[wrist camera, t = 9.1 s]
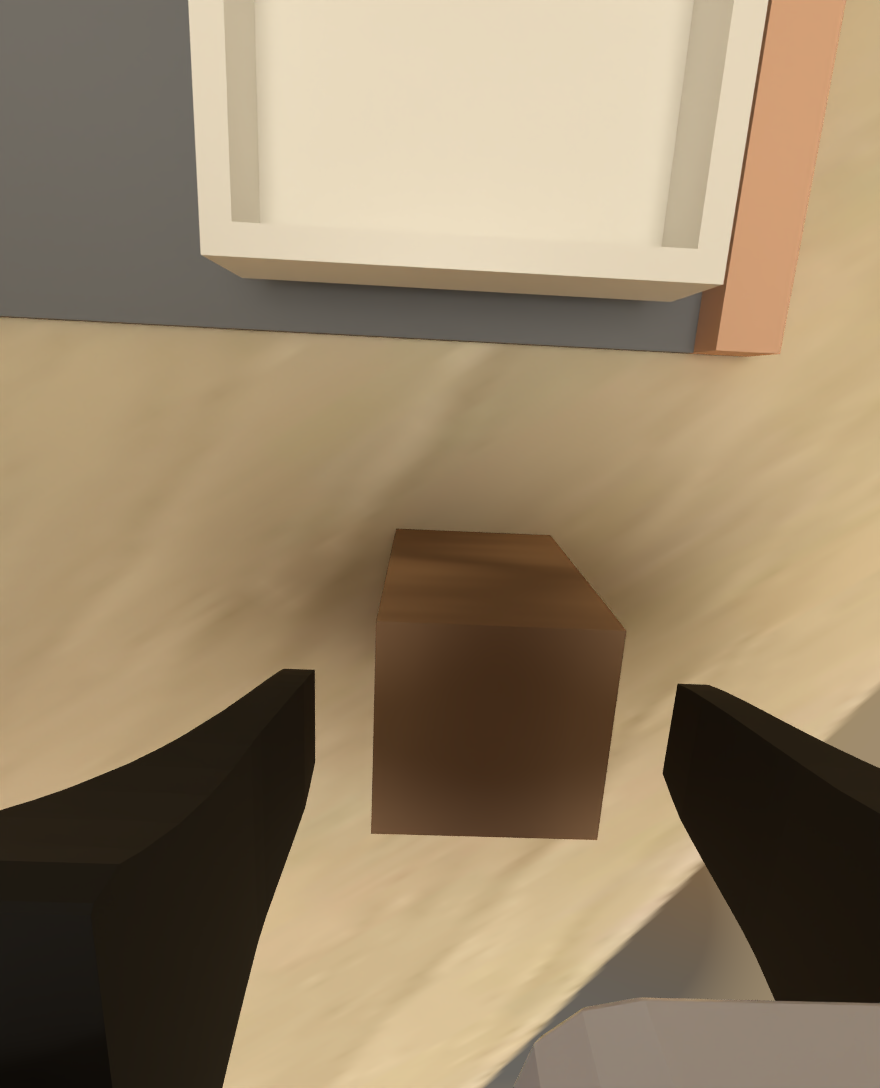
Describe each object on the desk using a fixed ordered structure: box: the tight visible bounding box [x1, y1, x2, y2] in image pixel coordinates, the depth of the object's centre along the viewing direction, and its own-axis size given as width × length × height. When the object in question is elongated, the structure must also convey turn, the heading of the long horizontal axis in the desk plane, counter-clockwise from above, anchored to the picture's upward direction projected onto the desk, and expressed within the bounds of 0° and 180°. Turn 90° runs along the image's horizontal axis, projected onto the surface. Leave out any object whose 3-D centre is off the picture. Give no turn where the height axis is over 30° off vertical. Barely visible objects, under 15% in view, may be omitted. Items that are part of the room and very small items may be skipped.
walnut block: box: [371, 529, 626, 840], centre depth 15 cm, size 4×4×7 cm
